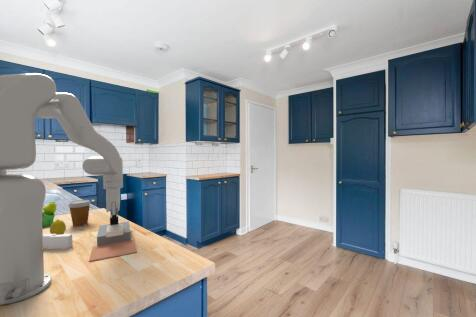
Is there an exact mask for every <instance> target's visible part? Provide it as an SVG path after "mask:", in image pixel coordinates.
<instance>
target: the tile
mask: <svg viewBox="0 0 476 317" xmlns="http://www.w3.org/2000/svg"><path fill="white" fill-rule="evenodd" d="M118 235H123V224H116V225H109V226H107V230H106V237H112V236H118Z"/></svg>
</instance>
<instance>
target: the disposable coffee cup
mask: <svg viewBox="0 0 476 317" xmlns="http://www.w3.org/2000/svg"><path fill="white" fill-rule="evenodd" d="M67 206H68V207H69V212H70V217H71V222H72V226H73V227H81V226H85V225H88V223H89V216H90V207H91V201H90V200H89V199H78V200H72V201H70V202H69V204H68V205H67Z"/></svg>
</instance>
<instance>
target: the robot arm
mask: <svg viewBox="0 0 476 317" xmlns="http://www.w3.org/2000/svg"><path fill="white" fill-rule="evenodd" d="M35 118H39V119H43V120H45V119H47V120H48V119H56V120H57V122H58V123H59V124H60V127H61V128H62V130H63V132H64V133H65V135H66V136H67V137H68V139H69V141H71V142H72V143H74V144H76V145H77V146H81V147H84V148H86V149H89V150H92V151H94V152H95V153H97V154H99V156H98V155H97V156H95V155H94V156H89V157H87V158H85V160H84V161H83V162H82V169H83V171H84V172H85V173H87V174H88V175H91V176H102V181H103V182H102V184H103V187H102V188H103V189H104V190H106V191H105V202H106V203H105V204H106V205H105V206H106V207H105V208H106V209H105V210H106V211H105V212H106V213H110V217H109V224H110V225H116V224H118V223H119V214H118V212H119V211H120V207H121V206H120V205H121V189H122V188H124V174H123V171H124V169H123V168H124V167H123V158H122V157H121V155H120V153H119V151H118V149H117V148H116V146H115V145H114V144H113V143H112V142H111V141H110V140H108V139H107V138H106V137H104V136H103V135H101V134H100V133H99V132H97V131H96V130H95V128H94V126H93V124H92V123H91V120H90V119H89V117H88V115H87V113H86V111H85V109H84V107H83V105H82V104H81V102H80V100H79V98H78V97H77V96H76V95H74V94H72V93H70V92H69V93H68V92H57V85H56V83H55V81H54V79H53V78H52V77H50V76H49V75H46V74H42V73H38V72H29V73H16V74H0V306H1V305H9V304H13V303H17V302H21V301H23V300H27V299H28V298H31V297H33V296H35V295H37V294H39V293H41V292H43V291H44V290H45V289H47V288H48V287H49V286H50V285H51V282H52V276H51V275H50V274H47V273H45V268H44V267H45V266H44V264H45V262H44V261H45V260H44V249H43V233H44V232H43V227H42V212H44V210H43V208H44V204H45V199H46V194H47V190H46V186H45V184H44V182H43V181H42V180H41V179H39V178H38V177H36V176H33V175H30V174H13V173H11V174H8V173H7V171H8V170H9V171H10V170H11V171H12V170H22V169H27V168H29V167H31V166H33V164H34V163H35V162H36V158H37V146H36V133H35V132H36V131H35V130H36V129H35Z"/></svg>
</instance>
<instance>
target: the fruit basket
mask: <svg viewBox="0 0 476 317" xmlns="http://www.w3.org/2000/svg"><path fill="white" fill-rule="evenodd" d="M56 211H57V203H56V202H55V201H50V202H49V203H48V204H46V205H45V206H43V211H42V228H44V227H49V226H51V224H52V223H53V222H54V221H55V220H54V219H55V216H56V214H55V213H56Z"/></svg>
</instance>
